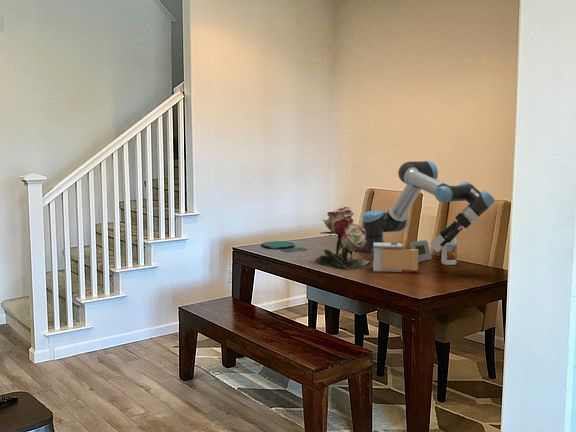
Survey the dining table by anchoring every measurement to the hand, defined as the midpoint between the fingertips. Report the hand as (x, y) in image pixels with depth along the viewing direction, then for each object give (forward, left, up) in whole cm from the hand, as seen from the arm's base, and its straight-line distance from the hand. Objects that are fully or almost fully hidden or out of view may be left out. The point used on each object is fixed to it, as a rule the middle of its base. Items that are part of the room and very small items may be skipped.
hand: (433, 247), depth 294 cm
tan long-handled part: (+6, -15, -11) cm, 20 cm away
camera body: (+4, -22, -13) cm, 26 cm away
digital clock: (-27, -16, -13) cm, 34 cm away
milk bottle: (-27, 0, -13) cm, 30 cm away
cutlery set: (-21, -101, -14) cm, 104 cm away
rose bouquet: (0, -47, -13) cm, 49 cm away
